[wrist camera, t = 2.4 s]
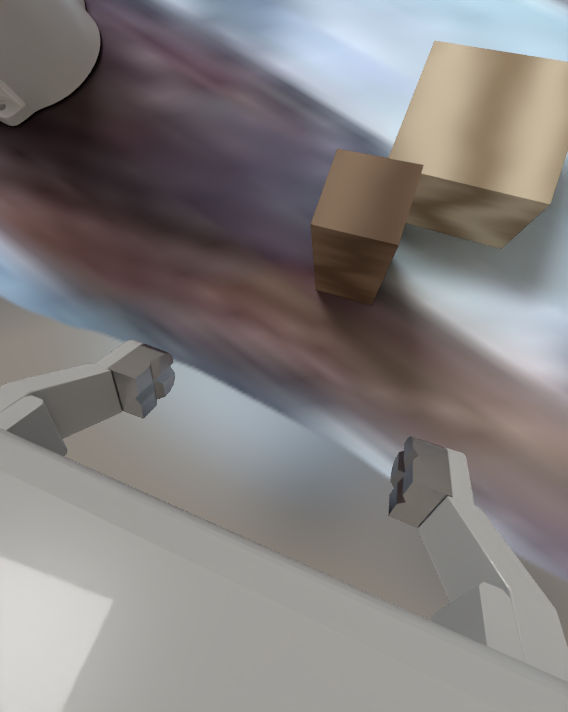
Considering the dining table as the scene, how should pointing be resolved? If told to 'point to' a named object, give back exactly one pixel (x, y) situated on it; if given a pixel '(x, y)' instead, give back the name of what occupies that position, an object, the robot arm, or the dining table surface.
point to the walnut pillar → (360, 222)
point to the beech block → (484, 141)
